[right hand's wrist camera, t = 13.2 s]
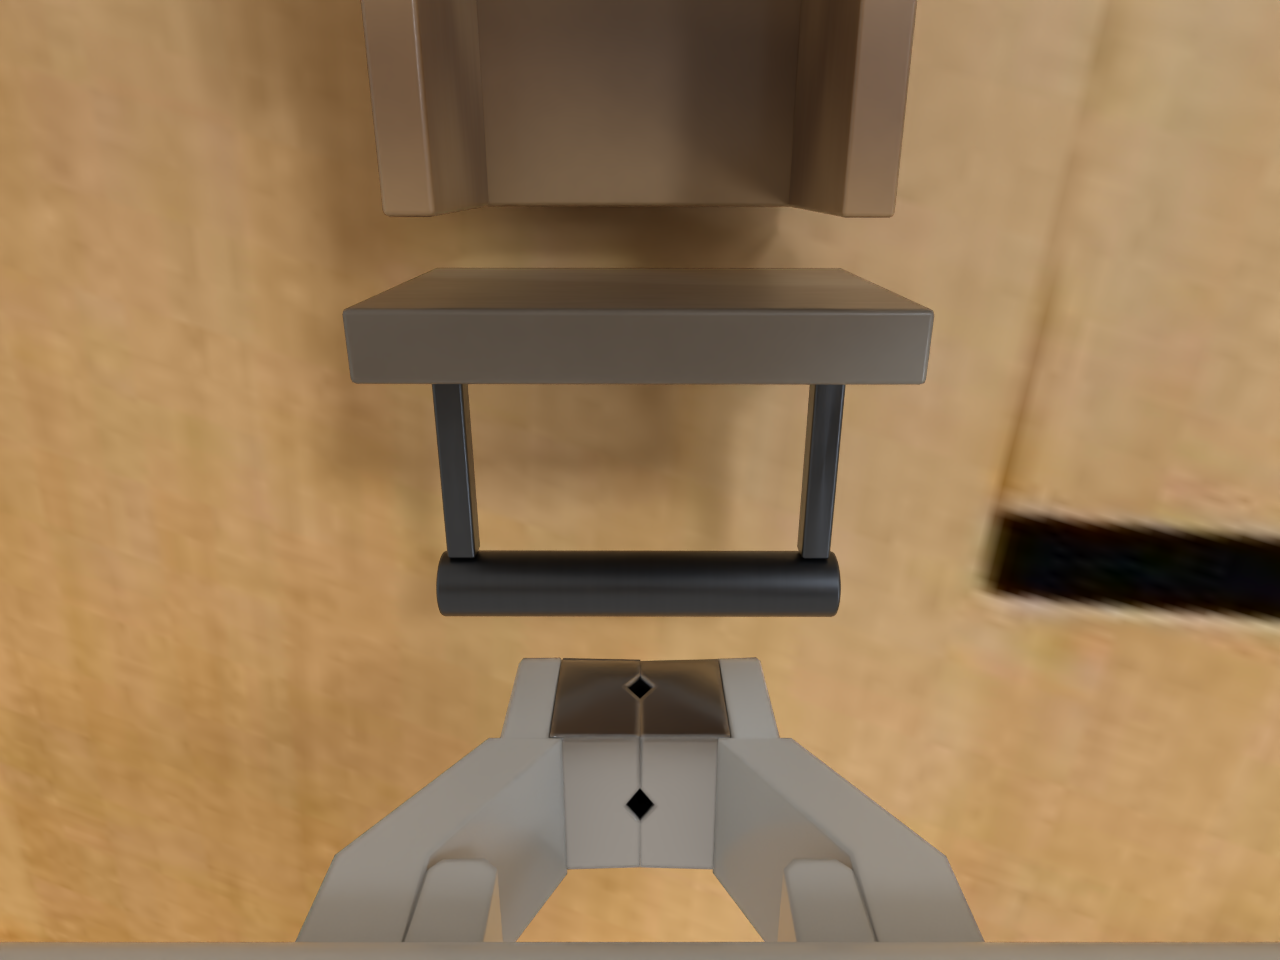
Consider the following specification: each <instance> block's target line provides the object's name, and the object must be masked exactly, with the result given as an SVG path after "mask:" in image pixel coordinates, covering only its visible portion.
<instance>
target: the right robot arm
mask: <svg viewBox="0 0 1280 960" xmlns="http://www.w3.org/2000/svg"><path fill="white" fill-rule="evenodd" d="M628 867H650V868H685V869H713V874H714V875H715V876H716V878H717V879H718V880H719V882H720V883H721V884H722V886H723V887H724V888H725V889H726V891H727V892H728V893H729V895H730V896H731V897H732V899H733V900H734V901H735V903H736V904H737V905H738V907H739V908H740V909H741V911H742V912H743V913H744V915H745V916H746V917H747V919H748V920H749V921H750V923H751V924H752V925H753V927H754V928H755V929H756V931H757V932H758V933H759V935H760V936H761V937H762V939H763V940H764V941H765V942H516V941H517V939H518V938H519V937H520V935H521V934H522V933H523V931H524V930H525V929H526V927H527V926H528V925H529V923H530V922H531V921H532V919H533V918H534V917H535V915H536V914H537V913H538V911H539V910H540V909H541V907H542V906H543V905H544V904H545V902H546V901H547V900H548V898H549V897H550V896H551V894H552V893H553V892H554V890H555V889H556V888H557V886H558V885H559V884H560V882H561V881H562V880H563V878H564V877H565V876H566V874H567V869H594V868H628ZM0 960H1280V942H985V941H984V939H983V937H982V935H981V933H980V930H979V928H978V926H977V924H976V921H975V919H974V917H973V915H972V913H971V910H970V908H969V906H968V904H967V902H966V899H965V897H964V895H963V893H962V890H961V888H960V886H959V884H958V882H957V879H956V877H955V875H954V873H953V870H952V868H951V866H950V864H949V862H948V859H947V857H946V856H945V855H944V854H942V853H941V852H940V851H938V850H937V849H936V848H934V847H933V846H932V845H931V844H929V843H928V842H927V841H925V840H924V839H923V838H921V837H920V836H919V835H917V834H916V833H915V832H914V831H912V830H911V829H910V828H908V827H907V826H906V825H904V824H903V823H902V822H900V821H899V820H898V819H897V818H895V817H894V816H893V815H891V814H890V813H889V812H887V811H886V810H885V809H883V808H882V807H881V806H880V805H878V804H877V803H876V802H874V801H873V800H872V799H870V798H869V797H868V796H866V795H865V794H864V793H863V792H861V791H860V790H859V789H857V788H856V787H855V786H853V785H852V784H851V783H849V782H848V781H847V780H846V779H844V778H843V777H842V776H840V775H839V774H838V773H836V772H835V771H834V770H832V769H831V768H830V767H829V766H827V765H826V764H825V763H823V762H822V761H821V760H819V759H818V758H817V757H815V756H814V755H813V754H812V753H810V752H809V751H808V750H806V749H805V748H804V747H802V746H801V745H800V744H798V743H797V742H796V741H795V740H793V739H792V738H780V737H779V733H778V729H777V725H776V721H775V717H774V713H773V709H772V705H771V702H770V698H769V694H768V690H767V686H766V682H765V678H764V674H763V670H762V666H761V662H760V661H759V660H758V659H757V658H756V657H754V658H728V659H705V660H664V661H640V660H625V659H576V658H563V660H562V659H560V658H523V659H522V661H521V662H520V663H519V665H518V669H517V673H516V677H515V681H514V685H513V689H512V693H511V697H510V701H509V705H508V709H507V713H506V717H505V721H504V725H503V729H502V733H501V737H500V738H488V739H487V740H486V741H484V742H483V743H482V744H480V745H479V746H478V747H476V748H475V749H474V750H472V751H471V752H470V753H468V754H467V755H466V756H465V757H463V758H462V759H461V760H459V761H458V762H457V763H455V764H454V765H453V766H451V767H450V768H449V769H447V770H446V771H445V772H443V773H442V774H441V775H440V776H438V777H437V778H436V779H434V780H433V781H432V782H430V783H429V784H428V785H426V786H425V787H424V788H422V789H421V790H420V791H419V792H417V793H416V794H415V795H413V796H412V797H411V798H409V799H408V800H407V801H405V802H404V803H403V804H401V805H400V806H399V807H397V808H396V809H395V810H394V811H392V812H391V813H390V814H388V815H387V816H386V817H384V818H383V819H382V820H380V821H379V822H378V823H376V824H375V825H374V826H373V827H371V828H370V829H369V830H367V831H366V832H365V833H363V834H362V835H361V836H359V837H358V838H357V839H355V840H354V841H353V842H351V843H350V844H349V845H348V846H346V847H345V848H344V849H342V850H341V851H340V852H338V853H337V854H336V855H335V856H334V858H333V860H332V863H331V865H330V867H329V869H328V871H327V874H326V876H325V878H324V880H323V882H322V884H321V887H320V889H319V891H318V893H317V895H316V898H315V900H314V902H313V904H312V906H311V908H310V911H309V913H308V915H307V917H306V919H305V922H304V924H303V926H302V928H301V930H300V933H299V935H298V937H297V939H296V941H295V942H0Z"/></svg>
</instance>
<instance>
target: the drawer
mask: <svg viewBox="0 0 1280 960" xmlns="http://www.w3.org/2000/svg"><path fill="white" fill-rule="evenodd" d="M916 6H917V0H361V8H362V17H363V27H364V36H365V46H366V55H367V65H368V74H369V84H370V93H371V103H372V112H373V122H374V131H375V141H376V150H377V159H378V169H379V178H380V188H381V197H382V207H383V211H384V213H385V215H387V216H389V217H432V216H437V215H442V214H447V213H453V212H458V211H463V210H469V209H474V208H479V207H484V206H690V207H795V208H800V209H805V210H810V211H815V212H821V213H826V214H831V215H836V216H841V217H892V216H893V214H894V212H895V203H896V193H897V184H898V175H899V165H900V156H901V147H902V137H903V128H904V119H905V109H906V100H907V91H908V81H909V72H910V63H911V53H912V44H913V34H914V25H915V16H916ZM933 321H934V313H933V310H931V309H928V308H926V307H924V306H922V305H920V304H917V303H915V302H913V301H911V300H909V299H907V298H904V297H902V296H900V295H898V294H896V293H893V292H891V291H889V290H887V289H885V288H882V287H880V286H878V285H876V284H874V283H871V282H869V281H867V280H865V279H863V278H861V277H858V276H856V275H854V274H852V273H850V272H847V271H845V270H843V269H841V268H436V269H434V270H432V271H429V272H427V273H425V274H423V275H420V276H418V277H416V278H414V279H411V280H409V281H407V282H405V283H403V284H400V285H398V286H396V287H394V288H391V289H389V290H387V291H385V292H382V293H380V294H378V295H376V296H373V297H371V298H369V299H367V300H365V301H362V302H360V303H358V304H356V305H353V306H351V307H349V308H347V309H344V311H343V322H344V329H345V337H346V345H347V353H348V361H349V369H350V376H351V380H352V382H354V383H357V384H432V391H433V402H434V413H435V423H436V434H437V445H438V456H439V467H440V478H441V489H442V500H443V511H444V521H445V532H446V543H447V551H445V552H444V553H443V554H442V556H441V558H440V561H439V565H438V571H437V581H436V593H437V602H438V607H439V610H440V613H441V614H442V615H444V616H690V617H832V616H834V615H836V613H837V611H838V607H839V603H840V594H841V581H840V571H839V565H838V561H837V558H836V556H835V554H834V553H833V552H831V551H830V546H831V535H832V524H833V513H834V503H835V492H836V481H837V471H838V460H839V449H840V438H841V428H842V417H843V406H844V396H845V385H919V384H922V383H924V382H925V380H926V375H927V367H928V359H929V352H930V344H931V336H932V328H933ZM468 384H810V390H809V403H808V416H807V429H806V441H805V454H804V467H803V480H802V493H801V506H800V519H799V532H798V545H797V547H798V550H799V551H478V550H479V547H480V541H479V528H478V515H477V502H476V489H475V476H474V462H473V449H472V436H471V423H470V410H469V396H468Z"/></svg>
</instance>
